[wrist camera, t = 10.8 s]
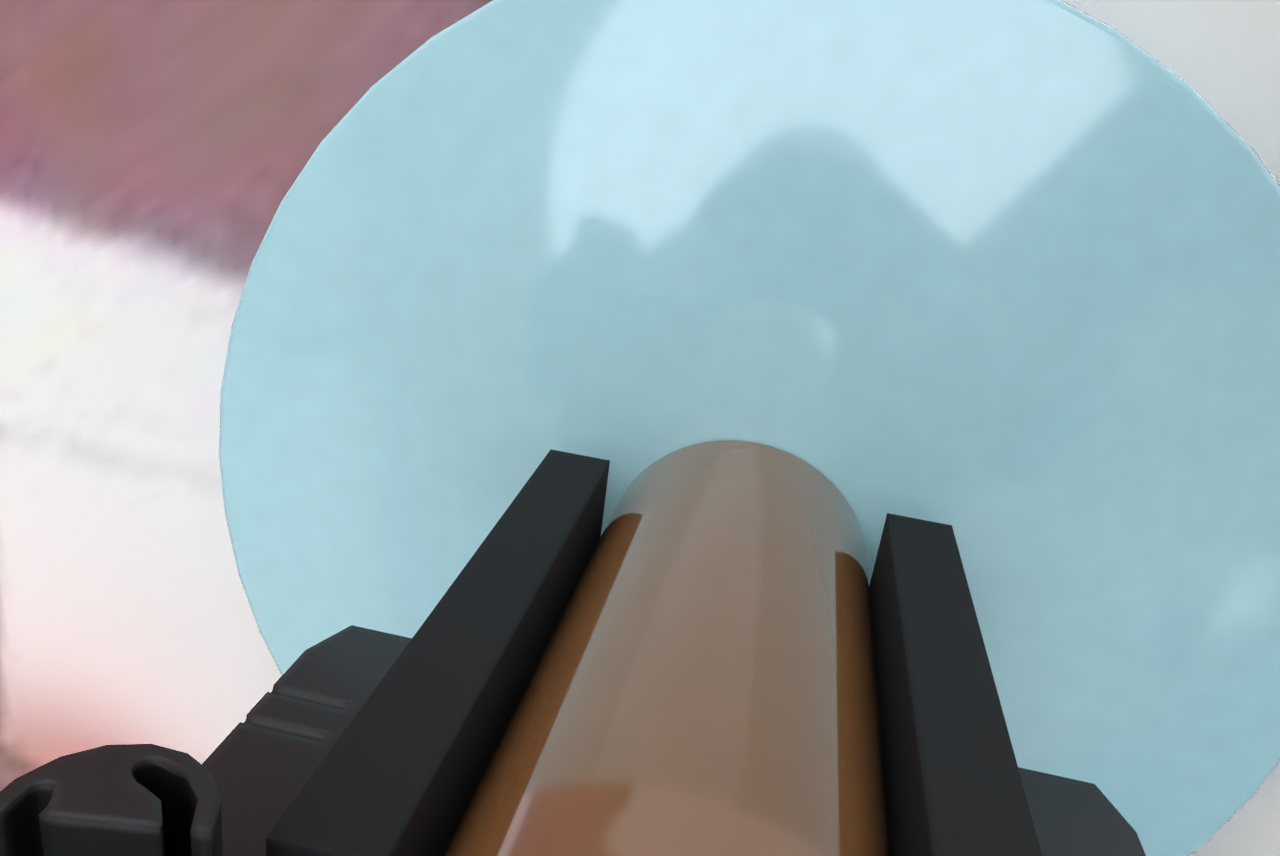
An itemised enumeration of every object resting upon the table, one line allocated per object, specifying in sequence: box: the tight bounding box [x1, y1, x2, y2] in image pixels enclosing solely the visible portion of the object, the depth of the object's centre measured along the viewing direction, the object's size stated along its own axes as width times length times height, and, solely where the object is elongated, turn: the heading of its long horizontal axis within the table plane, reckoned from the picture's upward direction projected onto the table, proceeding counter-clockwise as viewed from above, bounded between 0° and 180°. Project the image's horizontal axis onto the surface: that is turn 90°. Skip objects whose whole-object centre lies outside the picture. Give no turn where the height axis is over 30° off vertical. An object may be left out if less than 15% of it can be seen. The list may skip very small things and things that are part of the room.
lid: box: [219, 0, 1280, 856], centre depth 9 cm, size 15×15×9 cm
